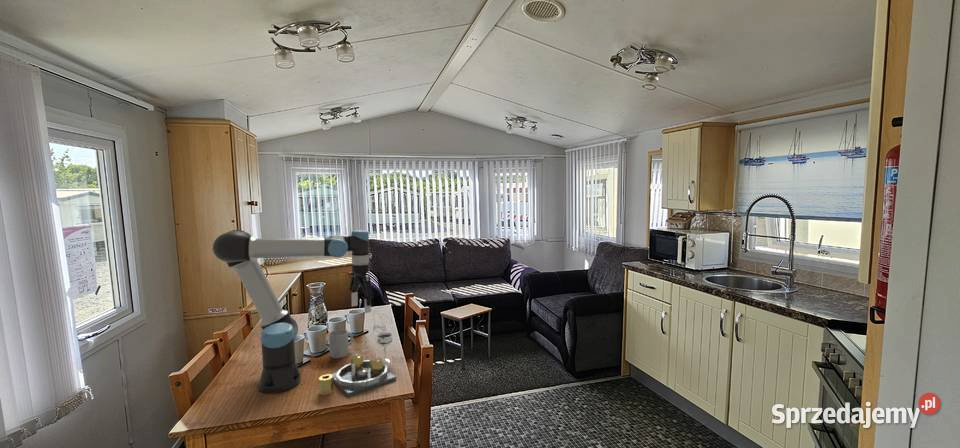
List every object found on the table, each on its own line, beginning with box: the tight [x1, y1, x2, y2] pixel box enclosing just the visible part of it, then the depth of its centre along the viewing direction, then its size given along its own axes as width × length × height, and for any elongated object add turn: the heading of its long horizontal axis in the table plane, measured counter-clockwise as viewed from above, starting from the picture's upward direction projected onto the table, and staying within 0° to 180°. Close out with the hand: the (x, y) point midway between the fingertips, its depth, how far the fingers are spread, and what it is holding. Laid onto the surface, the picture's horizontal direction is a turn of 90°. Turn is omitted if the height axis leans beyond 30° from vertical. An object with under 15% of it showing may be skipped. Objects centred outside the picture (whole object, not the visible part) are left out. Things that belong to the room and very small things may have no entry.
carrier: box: [331, 353, 397, 397], centre depth 157 cm, size 20×20×8 cm
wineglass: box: [376, 332, 393, 364], centre depth 175 cm, size 7×7×12 cm
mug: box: [328, 328, 354, 360], centre depth 183 cm, size 12×8×11 cm
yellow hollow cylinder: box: [318, 373, 335, 396], centre depth 147 cm, size 5×5×6 cm
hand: (361, 309), depth 177 cm, fingers open, 13 cm apart
